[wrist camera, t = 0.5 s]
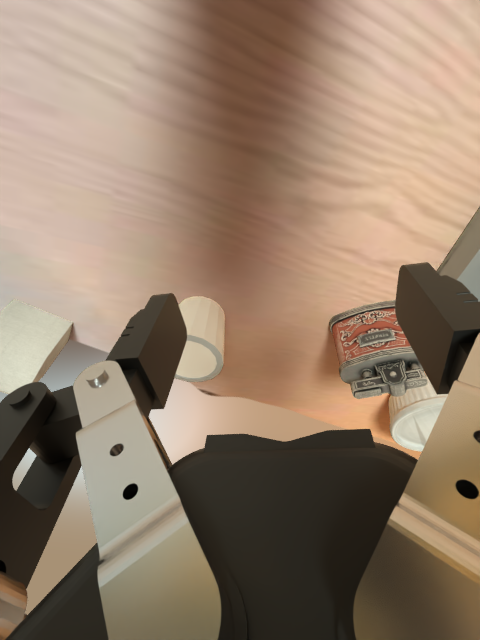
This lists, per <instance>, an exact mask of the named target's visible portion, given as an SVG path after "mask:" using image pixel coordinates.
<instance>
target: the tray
mask: <svg viewBox="0 0 480 640" xmlns="http://www.w3.org/2000/svg"><path fill="white" fill-rule="evenodd" d="M437 273H438V274H439V275H440V276H443V275H447V276H449V277H451V278H453V279H455V280H458V281H460V282H462V283H463V285H464V286H465V287H466V288H467V289H468V290H469V291H470V293H471V294H473V295H474V296H475V297H476V298H477V299H478V302H480V207H479V209H478V210H477V212H476V213H475V215H474V216H473V218H472V219H471V221H470V222H469V224H468V225H467V227H466V228H465V230H464V231H463V233H462V234H461V236H460V237H459V239H458V240H457V242H456V243H455V245H454V246H453V248H452V249H451V251H450V252H449V254H448V255H447V257H446V258H445V260H444V261H443V263H442V264H441V266H440V267H439V269H438V270H437Z"/></svg>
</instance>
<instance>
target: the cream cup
mask: <svg viewBox="0 0 480 640" xmlns="http://www.w3.org/2000/svg"><path fill="white" fill-rule="evenodd" d="M178 306H179V308H180V311H181V314H182V317H183V319H184V322H185V325H186V329H187V341H186V344H185V347H184V350H183V353H182V356H181V359H180V362H179V365H178V368H177V371H176V374H175V377H174V378H176V379H180V380H184V381H187V382H203V381H206V380H210V379H212V378H214V377H215V376H217V375H218V374H219V373H220V371H221V369H222V367H223V364H224V336H225V315H224V311H223V309H222V308H221V306H220V305H219V304H218V303H216V302H215V301H213V300H212V299H209V298H206V297H203V296H192V297H189V298H187V299H184V300H183V301H182V302H181V303H180V304H179V305H178Z"/></svg>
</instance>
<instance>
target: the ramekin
mask: <svg viewBox="0 0 480 640" xmlns="http://www.w3.org/2000/svg"><path fill="white" fill-rule="evenodd" d="M426 377H427V375H426ZM427 379H428V377H427ZM447 396H448V394H439V395H437V394H436V392H435V390H434V388H433V386H432V384H431V383H430V381H429V379H428V385H426V386H424V387H419V388H413V389H408V390H407V391H406V393H405V394H404V395H403V396H398V397H396V396H392V395H391V396H390V398H389V415H390V433H391V436H392V438H393V439H394V441H395V442H396V443H398V444H399V445H401V446H403V447H405V448H408V449H411V450H415V451H421V452H422V451H423V448H424V446H425V444H426V442H427V440H428V438H429V435H430V433H431V431H432V429H433V427H434V424H435V422H436V420H437V418H438V416H439V414H440V411H441V409H442V407H443V405H444V403H445V400H446V398H447Z"/></svg>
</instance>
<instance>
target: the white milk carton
mask: <svg viewBox="0 0 480 640" xmlns="http://www.w3.org/2000/svg"><path fill="white" fill-rule="evenodd" d="M72 324H73V322H71V321H69V320H66V319H64V318H61V317H59V316H56V315H54V314H51V313H49V312H46V311H44V310H41V309H39V308H36V307H34V306H31V305H29V304H26V303H24V302H21V301H19V300H16V299H14V300H13V301H11V302H10V303H9V304H8V305H7V306H6V307H5V308H4V309H3V310H2V311H1V312H0V392H3V393H6V394H10V393H11V392H13V391H14V390H16V389H18V388H19V387H21V386H24V385H26V384H29V383H33V382H38V381H39V380H40V379H41V378H42V377H43V376H44V374H45V373H46V371H47V370H48V369H49V367H50V366H51V364H52V363H53V362H54V360H55V359H56V357H57V356H58V354H59V353H60V352H61V350H62V349H63V348H64V346H65V345H66V343H67V342H68V340H69V337H70V333H71V328H72Z"/></svg>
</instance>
